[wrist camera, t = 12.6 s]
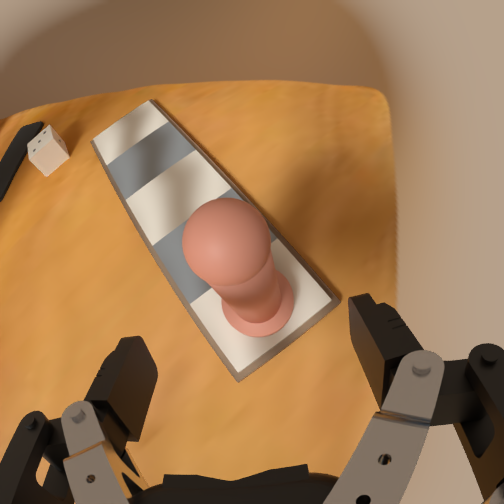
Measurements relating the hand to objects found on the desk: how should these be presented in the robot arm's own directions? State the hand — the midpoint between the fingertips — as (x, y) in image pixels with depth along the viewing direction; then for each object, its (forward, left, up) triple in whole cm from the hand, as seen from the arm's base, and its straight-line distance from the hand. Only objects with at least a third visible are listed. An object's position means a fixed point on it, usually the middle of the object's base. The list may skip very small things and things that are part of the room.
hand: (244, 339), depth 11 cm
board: (+2, +15, -10) cm, 19 cm away
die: (-8, +34, -11) cm, 37 cm away
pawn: (+2, +3, -9) cm, 10 cm away
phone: (-16, +44, -11) cm, 48 cm away
